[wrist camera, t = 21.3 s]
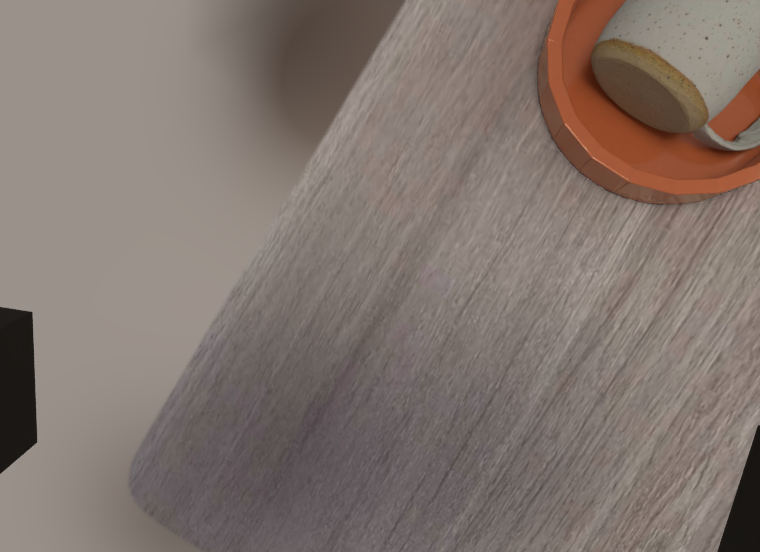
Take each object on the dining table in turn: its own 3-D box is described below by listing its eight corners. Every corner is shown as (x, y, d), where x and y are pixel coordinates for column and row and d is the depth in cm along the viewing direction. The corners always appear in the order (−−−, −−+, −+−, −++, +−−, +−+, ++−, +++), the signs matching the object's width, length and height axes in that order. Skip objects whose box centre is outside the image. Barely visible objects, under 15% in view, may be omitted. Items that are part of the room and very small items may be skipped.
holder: (501, 6, 39) (508, -24, 35) (745, -85, 38) (777, -126, 34) (589, 240, 38) (604, 233, 34) (841, 152, 37) (884, 135, 33)
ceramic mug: (566, 79, 37) (602, 22, 30) (657, -35, 37) (716, -121, 30) (719, 193, 37) (796, 165, 29) (812, 77, 36) (914, 18, 29)
